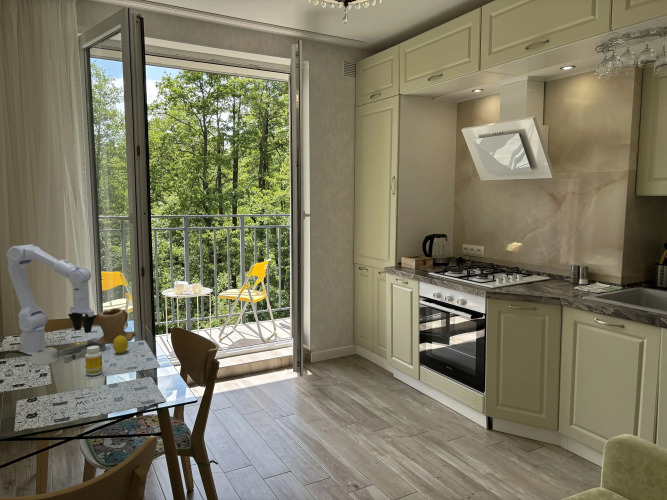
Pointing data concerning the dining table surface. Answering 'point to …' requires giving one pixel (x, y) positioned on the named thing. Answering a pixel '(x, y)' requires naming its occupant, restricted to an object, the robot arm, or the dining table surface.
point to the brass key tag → (79, 343)
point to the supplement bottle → (93, 361)
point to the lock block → (44, 356)
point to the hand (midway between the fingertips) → (82, 331)
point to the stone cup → (113, 325)
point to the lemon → (120, 344)
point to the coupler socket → (80, 347)
